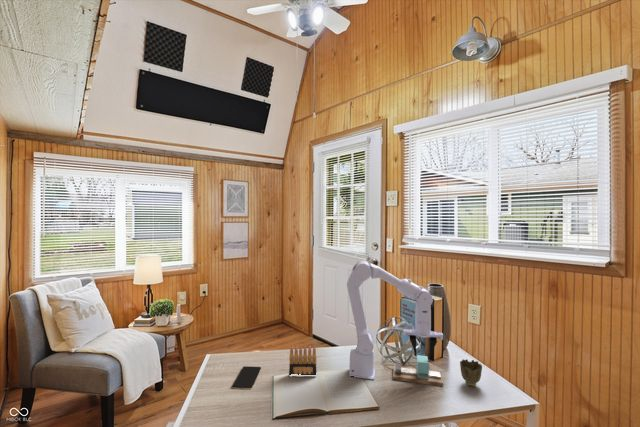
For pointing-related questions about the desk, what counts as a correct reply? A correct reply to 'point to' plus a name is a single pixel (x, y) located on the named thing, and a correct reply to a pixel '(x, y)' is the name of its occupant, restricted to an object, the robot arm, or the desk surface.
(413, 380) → the mounting board
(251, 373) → the smartphone
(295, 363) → the ammunition clip
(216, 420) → the desk surface
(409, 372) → the rail
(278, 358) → the desk surface
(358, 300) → the robot arm
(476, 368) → the cup
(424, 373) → the block
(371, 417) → the desk surface
